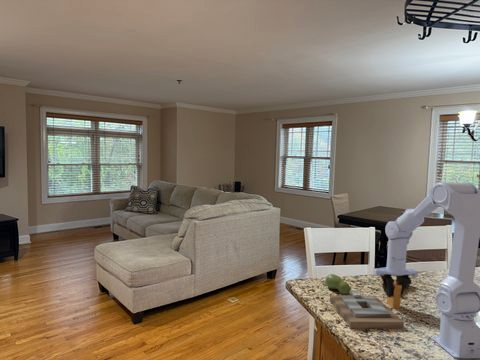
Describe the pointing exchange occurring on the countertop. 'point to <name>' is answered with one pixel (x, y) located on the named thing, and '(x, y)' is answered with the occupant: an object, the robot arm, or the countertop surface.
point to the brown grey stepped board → (365, 311)
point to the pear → (337, 284)
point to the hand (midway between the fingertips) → (393, 296)
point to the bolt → (395, 280)
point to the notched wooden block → (395, 295)
